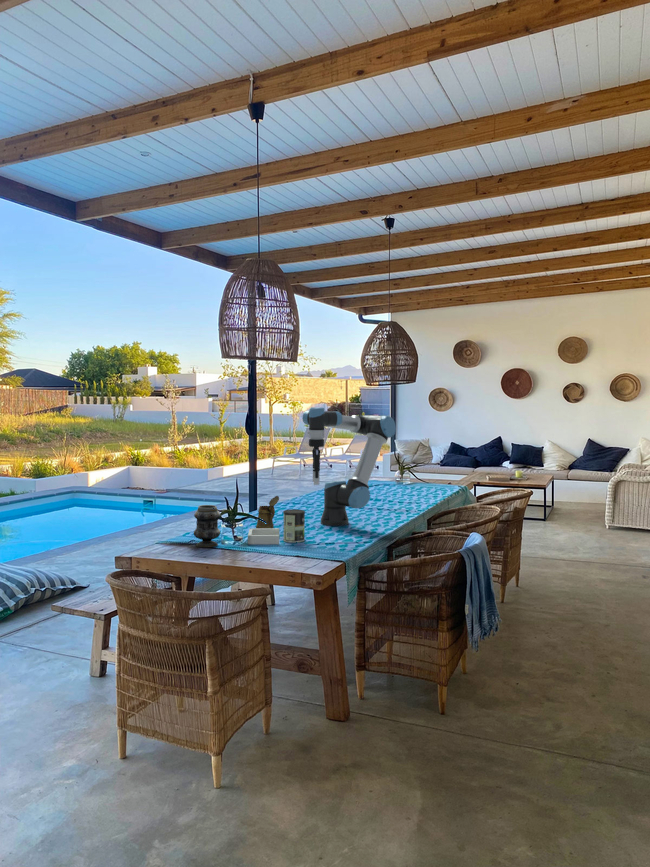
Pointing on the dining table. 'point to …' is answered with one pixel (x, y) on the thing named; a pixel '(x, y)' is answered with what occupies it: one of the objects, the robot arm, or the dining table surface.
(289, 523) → the coffee can
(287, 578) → the dining table surface
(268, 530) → the tray
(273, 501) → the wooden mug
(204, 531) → the stone vase
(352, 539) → the dining table surface
